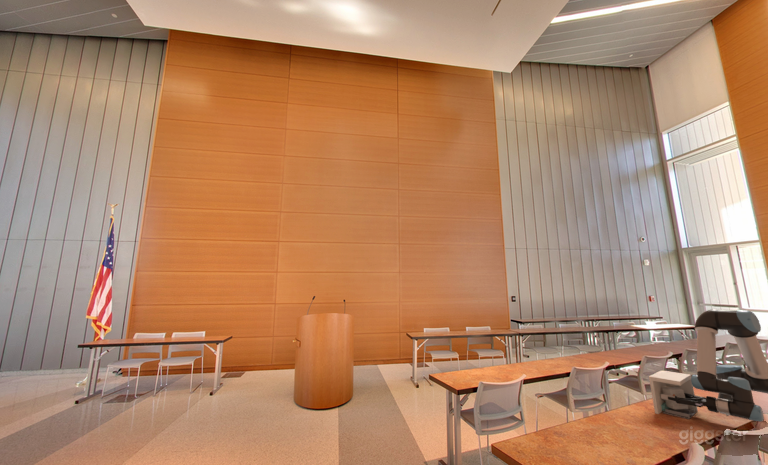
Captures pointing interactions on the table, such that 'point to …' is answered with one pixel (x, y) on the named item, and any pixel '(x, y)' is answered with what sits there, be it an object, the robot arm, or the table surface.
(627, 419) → the table surface
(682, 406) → the small box
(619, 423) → the table surface
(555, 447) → the table surface
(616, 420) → the table surface
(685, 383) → the cabinet
